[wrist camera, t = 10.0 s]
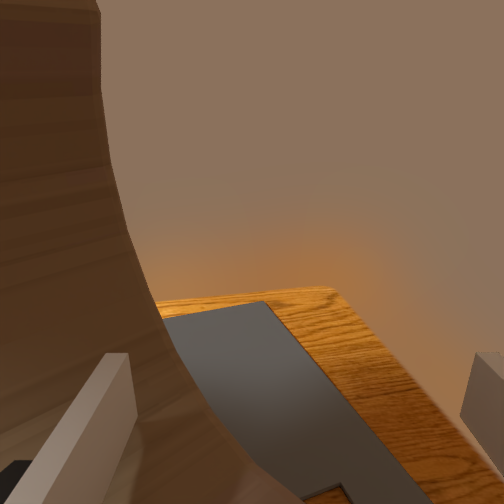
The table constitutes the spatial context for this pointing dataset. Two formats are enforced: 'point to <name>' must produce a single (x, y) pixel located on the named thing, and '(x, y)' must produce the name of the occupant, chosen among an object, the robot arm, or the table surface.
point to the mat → (286, 407)
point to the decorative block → (89, 278)
